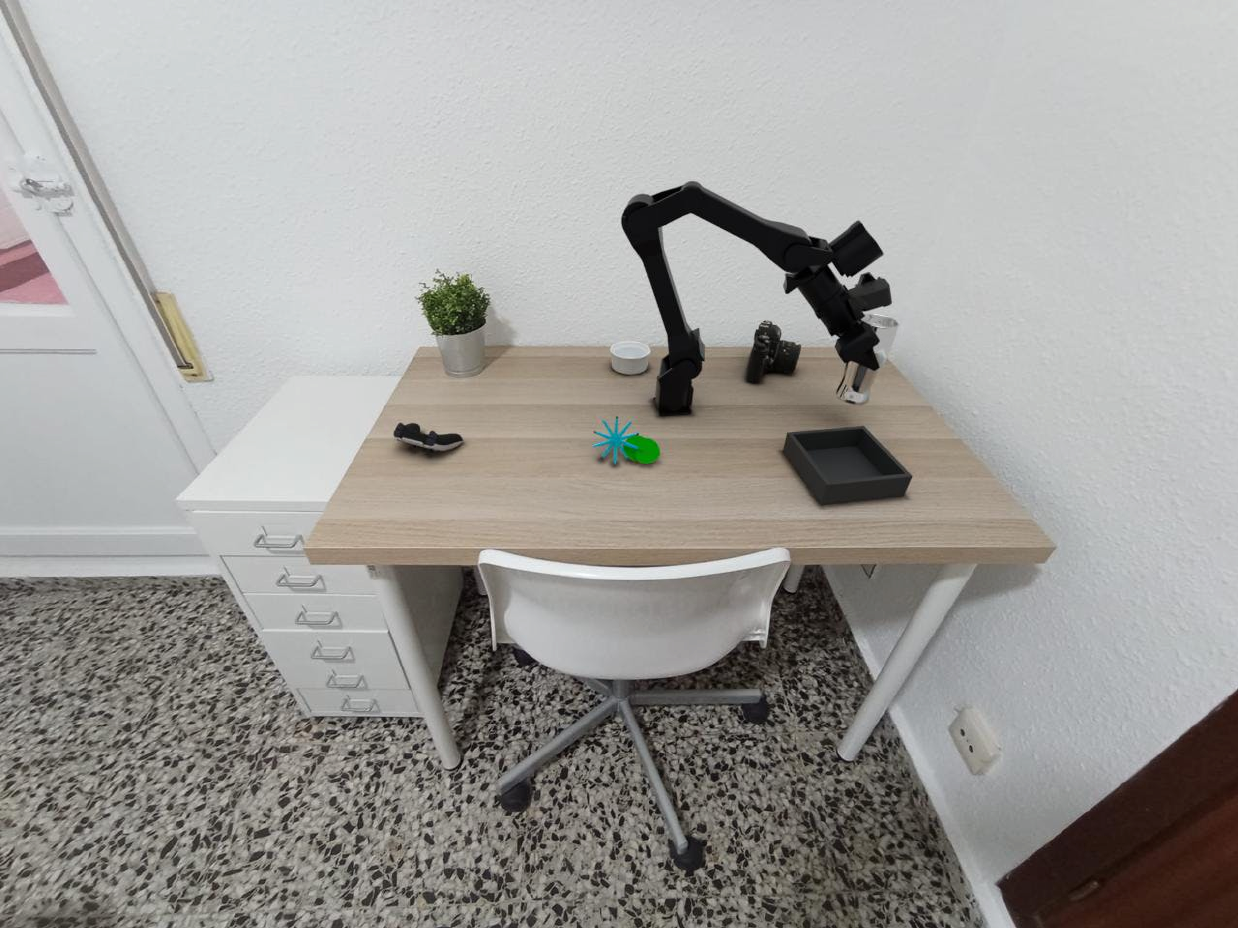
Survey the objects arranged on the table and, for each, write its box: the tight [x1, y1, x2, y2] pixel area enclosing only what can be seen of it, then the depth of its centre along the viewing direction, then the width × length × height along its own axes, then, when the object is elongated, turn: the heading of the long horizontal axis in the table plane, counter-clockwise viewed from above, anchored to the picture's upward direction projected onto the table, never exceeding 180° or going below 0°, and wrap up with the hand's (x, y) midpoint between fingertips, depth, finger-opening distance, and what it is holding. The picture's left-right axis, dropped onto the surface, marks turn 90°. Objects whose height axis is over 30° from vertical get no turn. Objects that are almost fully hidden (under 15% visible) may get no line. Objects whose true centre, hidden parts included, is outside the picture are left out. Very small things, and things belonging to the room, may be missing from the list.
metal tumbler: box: [834, 312, 900, 406], centre depth 98 cm, size 7×7×15 cm
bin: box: [782, 425, 914, 506], centre depth 92 cm, size 15×15×4 cm
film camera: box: [745, 319, 802, 384], centre depth 120 cm, size 18×12×10 cm
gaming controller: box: [392, 422, 464, 454], centre depth 95 cm, size 11×4×7 cm
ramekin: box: [609, 340, 651, 376], centre depth 121 cm, size 9×9×4 cm
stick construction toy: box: [592, 415, 661, 465], centre depth 96 cm, size 12×7×8 cm
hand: (872, 360), depth 98 cm, fingers closed on metal tumbler, 7 cm apart
